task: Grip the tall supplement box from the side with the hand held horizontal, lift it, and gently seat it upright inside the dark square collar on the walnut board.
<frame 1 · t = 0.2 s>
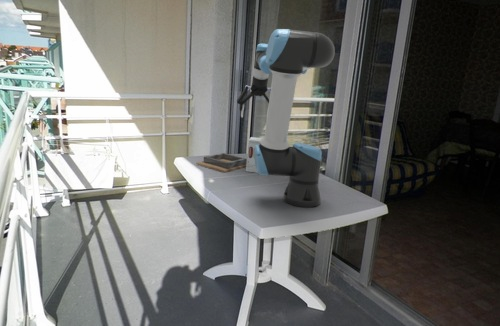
hand: (254, 117, 179), 27 cm above the table, tool tilted 15°, fingers open, 13 cm apart
tub holder: (225, 164, 188), on the table
carton: (298, 178, 176), on the table
supplement box: (255, 170, 182), on the table
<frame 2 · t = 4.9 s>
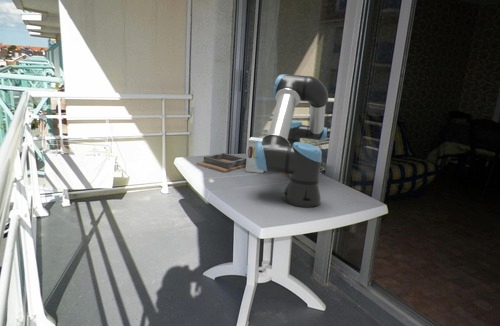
hand: (255, 153, 180), 9 cm above the table, tool horizontal, fingers open, 13 cm apart
supplement box: (255, 170, 182), on the table, touching gripper
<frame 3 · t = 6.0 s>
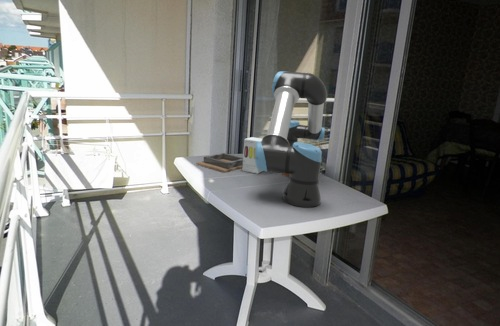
hand: (251, 153, 177), 10 cm above the table, tool horizontal, fingers closed on supplement box, 11 cm apart
supplement box: (253, 170, 181), on the table, touching gripper
when the fingers open (12 cm above the table, at t = 11.5 s): supplement box drops 2 cm, resting on tub holder.
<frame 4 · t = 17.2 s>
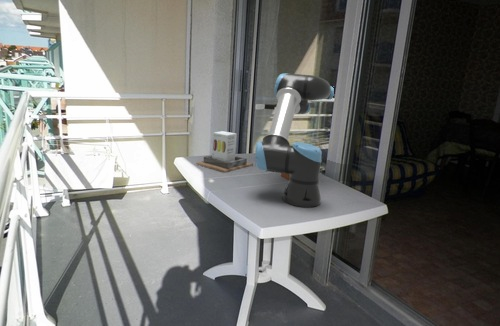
hand: (265, 108, 182), 32 cm above the table, tool horizontal, fingers open, 13 cm apart
supplement box: (223, 163, 187), point 1 cm above the table, touching tub holder
at the end: supplement box 1.4 cm off-centre on the tub holder, point 0.8 cm above the tub holder's base; supplement box tilted 0°; the gripper is holding nothing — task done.
